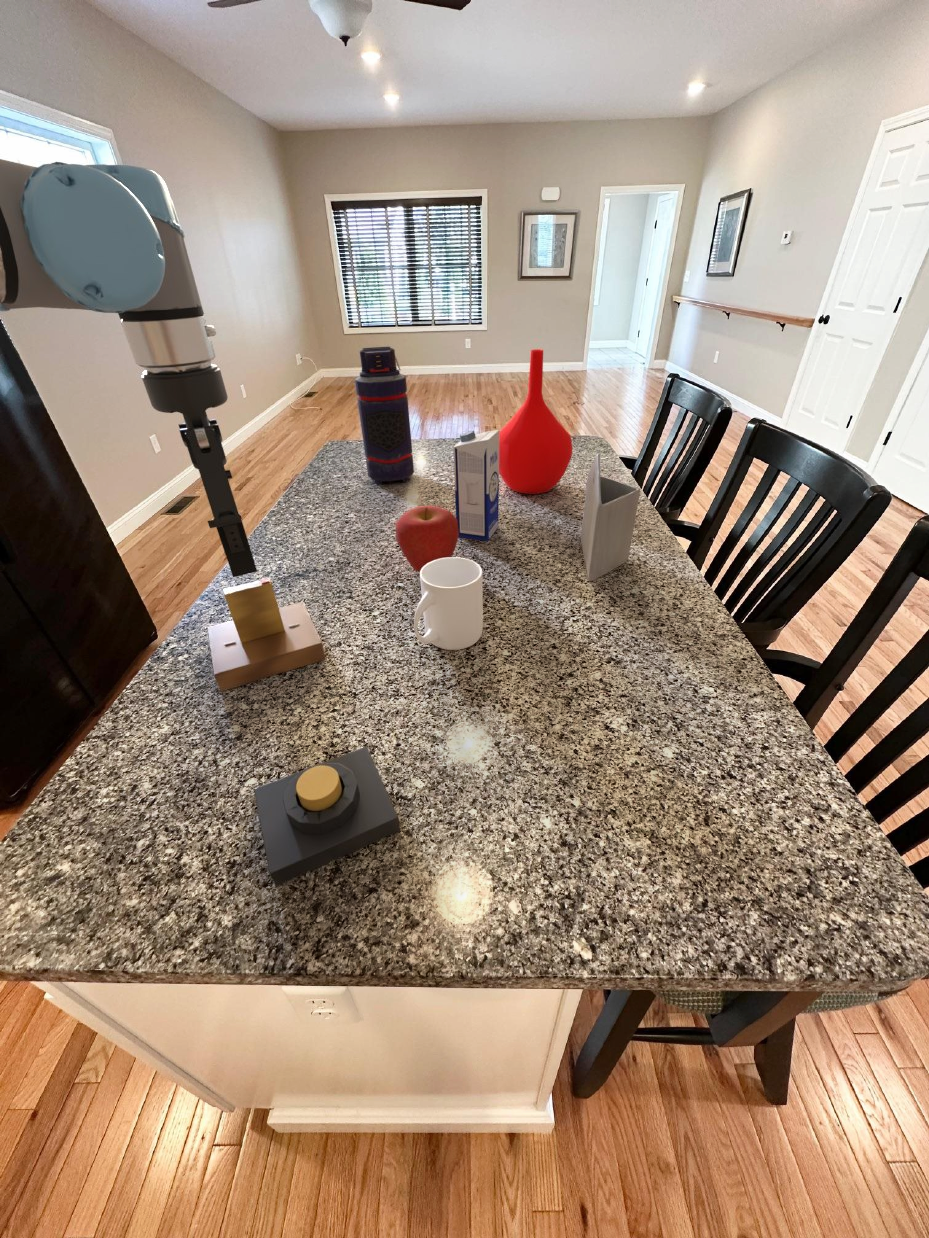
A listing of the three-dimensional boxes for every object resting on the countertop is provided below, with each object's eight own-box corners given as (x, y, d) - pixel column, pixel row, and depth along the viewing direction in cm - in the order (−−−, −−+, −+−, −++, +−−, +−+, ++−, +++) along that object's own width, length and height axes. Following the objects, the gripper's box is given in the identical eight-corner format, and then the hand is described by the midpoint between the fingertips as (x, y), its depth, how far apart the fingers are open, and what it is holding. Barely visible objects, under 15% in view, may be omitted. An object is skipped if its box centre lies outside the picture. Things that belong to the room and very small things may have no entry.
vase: (571, 476, 130) (583, 344, 113) (566, 503, 116) (579, 357, 99) (500, 472, 134) (501, 344, 117) (486, 498, 120) (486, 356, 103)
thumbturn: (241, 643, 71) (223, 593, 66) (239, 637, 72) (222, 587, 68) (285, 631, 73) (271, 581, 69) (283, 625, 74) (269, 576, 70)
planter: (635, 582, 87) (657, 470, 76) (588, 581, 88) (602, 470, 77) (621, 540, 100) (637, 439, 89) (580, 539, 101) (591, 439, 90)
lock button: (304, 818, 48) (300, 806, 47) (296, 786, 51) (292, 774, 50) (346, 801, 49) (343, 789, 48) (335, 770, 52) (332, 759, 51)
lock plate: (220, 691, 68) (213, 673, 66) (213, 643, 76) (206, 625, 75) (325, 659, 73) (321, 641, 71) (307, 617, 81) (303, 600, 80)
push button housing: (275, 886, 46) (264, 862, 44) (259, 801, 54) (248, 777, 51) (400, 830, 50) (396, 805, 48) (369, 758, 58) (364, 734, 55)
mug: (396, 647, 74) (388, 584, 68) (452, 611, 82) (449, 551, 75) (439, 672, 70) (434, 606, 63) (494, 631, 77) (495, 569, 71)
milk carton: (488, 541, 101) (487, 438, 90) (456, 537, 103) (452, 435, 92) (498, 527, 107) (499, 428, 95) (468, 523, 109) (465, 425, 97)
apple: (400, 558, 97) (393, 497, 90) (457, 554, 97) (454, 493, 90) (400, 589, 88) (392, 524, 81) (462, 584, 88) (460, 519, 81)
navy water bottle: (416, 483, 129) (405, 350, 112) (369, 488, 128) (350, 353, 111) (411, 466, 140) (400, 342, 123) (367, 470, 139) (350, 345, 122)
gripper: (230, 380, 45) (286, 586, 57) (209, 348, 63) (254, 509, 76) (135, 391, 42) (214, 605, 55) (141, 354, 61) (200, 520, 73)
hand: (238, 549), depth 65 cm, fingers open, 13 cm apart
